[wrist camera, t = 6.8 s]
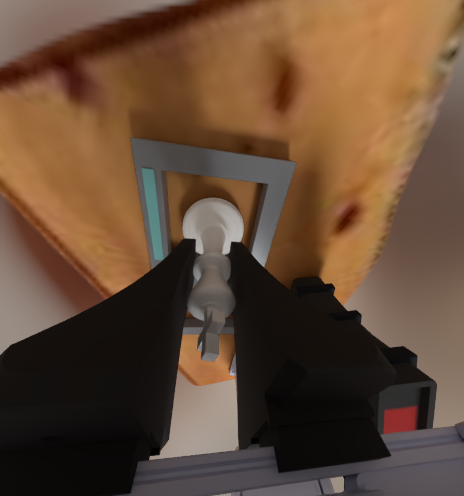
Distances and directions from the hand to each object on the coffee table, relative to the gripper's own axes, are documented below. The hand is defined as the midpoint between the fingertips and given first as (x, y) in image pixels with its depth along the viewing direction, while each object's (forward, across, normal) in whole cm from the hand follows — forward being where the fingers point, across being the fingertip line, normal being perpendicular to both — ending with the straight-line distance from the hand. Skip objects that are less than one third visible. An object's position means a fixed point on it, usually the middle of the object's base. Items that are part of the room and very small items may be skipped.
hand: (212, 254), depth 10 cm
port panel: (+5, 0, +5) cm, 7 cm away
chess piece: (+5, 0, +1) cm, 5 cm away
